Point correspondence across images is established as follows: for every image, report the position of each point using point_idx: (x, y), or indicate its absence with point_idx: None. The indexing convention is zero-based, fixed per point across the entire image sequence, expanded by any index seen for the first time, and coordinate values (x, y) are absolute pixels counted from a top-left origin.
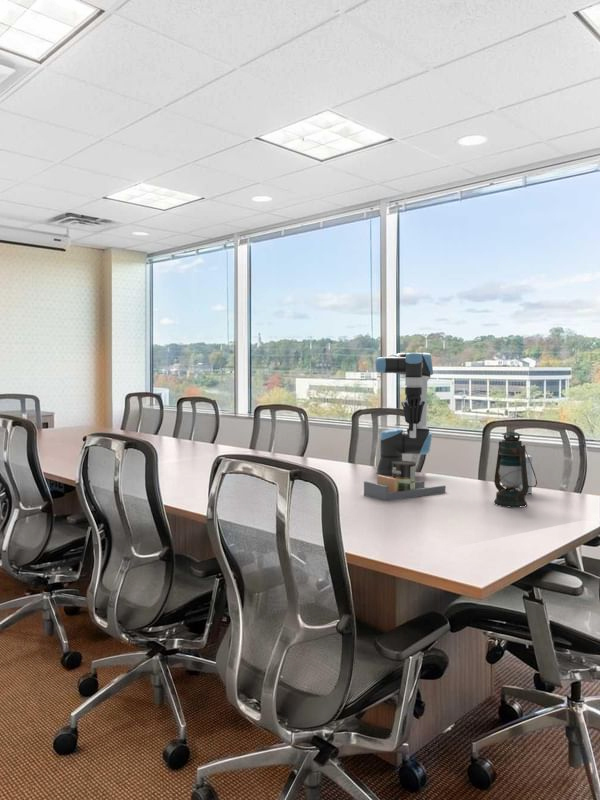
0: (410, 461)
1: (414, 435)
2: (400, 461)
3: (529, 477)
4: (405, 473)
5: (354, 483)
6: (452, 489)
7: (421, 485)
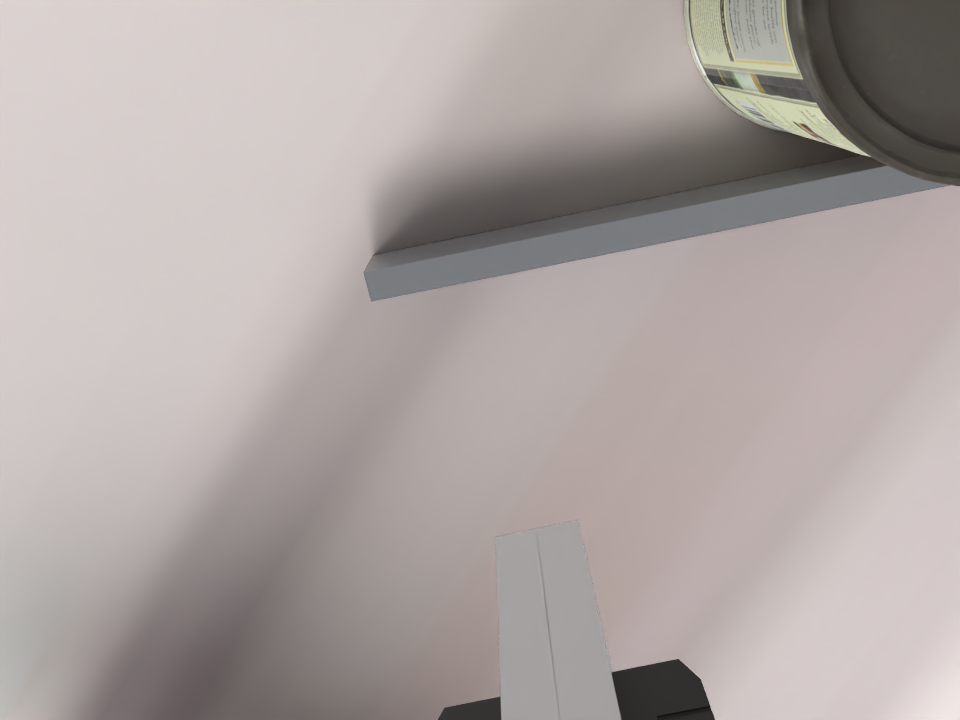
0: (811, 52)
1: (560, 557)
2: (950, 145)
3: None
4: None
5: (913, 671)
6: (112, 55)
7: (414, 251)
